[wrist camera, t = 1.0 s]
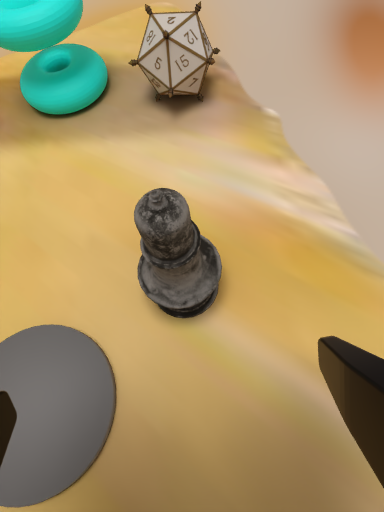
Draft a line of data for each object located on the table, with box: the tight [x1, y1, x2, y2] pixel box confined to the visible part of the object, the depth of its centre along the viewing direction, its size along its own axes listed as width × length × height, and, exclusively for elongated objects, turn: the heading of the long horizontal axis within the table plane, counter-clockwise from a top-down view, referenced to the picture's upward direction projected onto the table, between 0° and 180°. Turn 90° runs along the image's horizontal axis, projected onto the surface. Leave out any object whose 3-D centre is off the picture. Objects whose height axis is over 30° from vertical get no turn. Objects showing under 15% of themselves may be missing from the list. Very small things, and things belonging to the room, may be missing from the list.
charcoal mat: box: [0, 325, 116, 507], centre depth 21 cm, size 11×11×1 cm
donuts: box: [0, 0, 108, 114], centre depth 33 cm, size 10×10×10 cm
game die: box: [128, 2, 220, 102], centre depth 31 cm, size 9×8×10 cm
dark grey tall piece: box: [134, 188, 222, 318], centre depth 19 cm, size 6×6×12 cm
